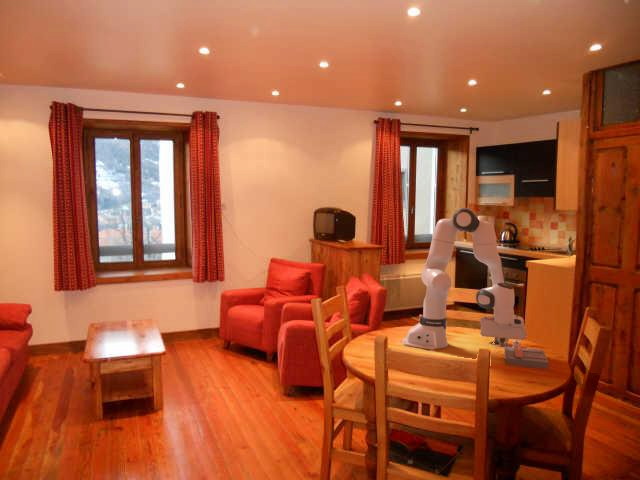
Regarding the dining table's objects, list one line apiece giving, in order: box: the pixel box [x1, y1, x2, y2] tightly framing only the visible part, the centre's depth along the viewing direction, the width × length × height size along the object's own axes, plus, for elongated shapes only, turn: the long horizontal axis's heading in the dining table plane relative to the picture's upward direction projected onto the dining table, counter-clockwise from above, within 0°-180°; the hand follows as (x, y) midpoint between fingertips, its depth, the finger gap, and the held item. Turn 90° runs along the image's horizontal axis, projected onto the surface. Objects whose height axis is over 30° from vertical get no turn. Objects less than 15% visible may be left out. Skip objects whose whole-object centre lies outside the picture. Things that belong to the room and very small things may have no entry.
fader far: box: [512, 339, 522, 350], centre depth 230 cm, size 3×5×4 cm, turn 163°
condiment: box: [488, 337, 511, 347], centre depth 250 cm, size 7×8×12 cm
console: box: [503, 346, 549, 370], centre depth 225 cm, size 17×18×3 cm
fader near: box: [514, 346, 523, 358], centre depth 221 cm, size 3×5×4 cm, turn 163°
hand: (502, 346), depth 232 cm, fingers closed
